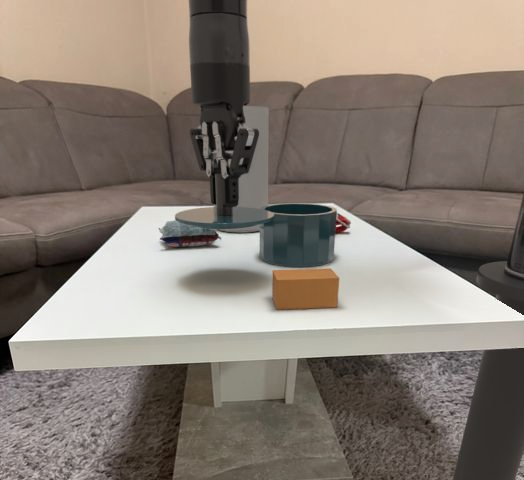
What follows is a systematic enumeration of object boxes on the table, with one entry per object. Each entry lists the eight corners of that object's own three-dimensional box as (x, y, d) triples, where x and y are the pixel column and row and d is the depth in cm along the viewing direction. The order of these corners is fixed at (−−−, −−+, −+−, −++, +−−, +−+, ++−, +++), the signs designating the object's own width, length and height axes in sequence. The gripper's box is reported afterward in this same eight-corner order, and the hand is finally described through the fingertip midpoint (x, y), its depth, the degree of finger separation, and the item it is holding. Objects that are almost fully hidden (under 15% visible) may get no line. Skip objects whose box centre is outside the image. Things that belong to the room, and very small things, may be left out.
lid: (236, 210, 75) (235, 167, 72) (294, 223, 65) (296, 174, 62) (157, 220, 67) (153, 172, 64) (209, 236, 57) (207, 180, 54)
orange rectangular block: (329, 296, 63) (330, 268, 62) (337, 307, 59) (339, 277, 58) (272, 298, 63) (272, 270, 61) (276, 309, 59) (276, 279, 57)
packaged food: (159, 240, 94) (157, 216, 92) (216, 238, 97) (215, 214, 94) (160, 251, 87) (158, 225, 85) (222, 248, 89) (221, 222, 87)
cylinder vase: (267, 233, 101) (267, 106, 90) (211, 233, 101) (204, 106, 91) (268, 223, 112) (269, 108, 101) (218, 222, 113) (213, 108, 102)
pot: (298, 245, 91) (300, 201, 87) (348, 258, 82) (352, 209, 78) (245, 255, 84) (245, 207, 80) (293, 271, 74) (295, 218, 71)
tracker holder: (321, 235, 94) (286, 218, 99) (319, 254, 97) (285, 236, 102) (357, 215, 100) (322, 199, 105) (354, 233, 103) (320, 217, 108)
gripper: (278, 59, 55) (275, 209, 62) (214, 70, 64) (219, 198, 72) (226, 53, 50) (230, 214, 58) (167, 65, 60) (177, 202, 68)
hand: (224, 204), depth 65 cm, fingers closed on lid, 2 cm apart
